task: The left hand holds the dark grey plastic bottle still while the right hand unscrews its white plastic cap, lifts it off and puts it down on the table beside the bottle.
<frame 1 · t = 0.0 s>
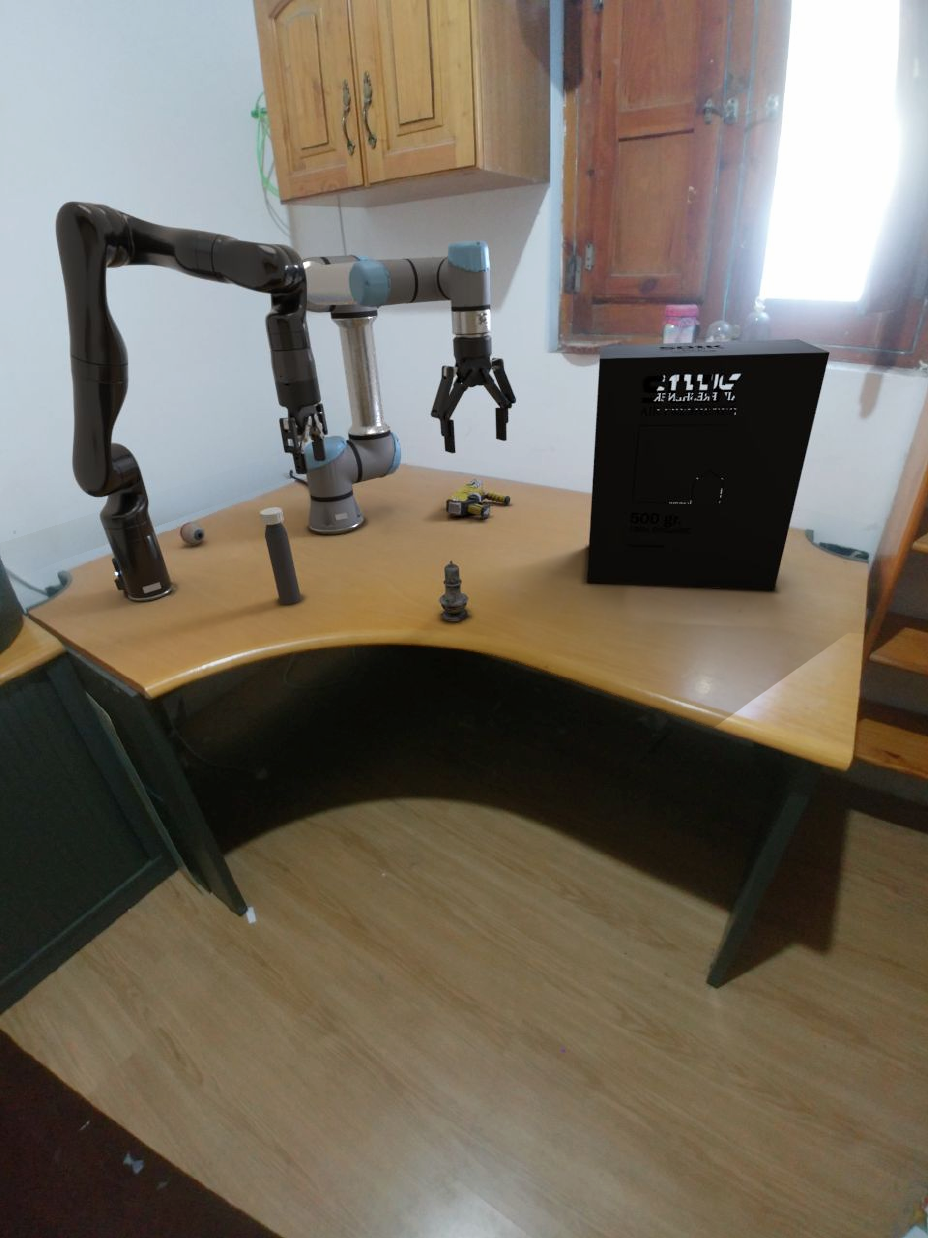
left hand: (311, 466, 115), 29 cm above the table, tool pointing down, fingers open, 8 cm apart
right hand: (476, 445, 127), 28 cm above the table, tool pointing down, fingers open, 13 cm apart
eyeball: (196, 544, 162), on the table
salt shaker: (454, 615, 122), on the table
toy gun: (483, 506, 177), on the table
cardboard box: (673, 566, 136), on the table
cap: (271, 512, 121), point 20 cm above the table, screwed on, not yet turned
bottle: (290, 599, 131), on the table
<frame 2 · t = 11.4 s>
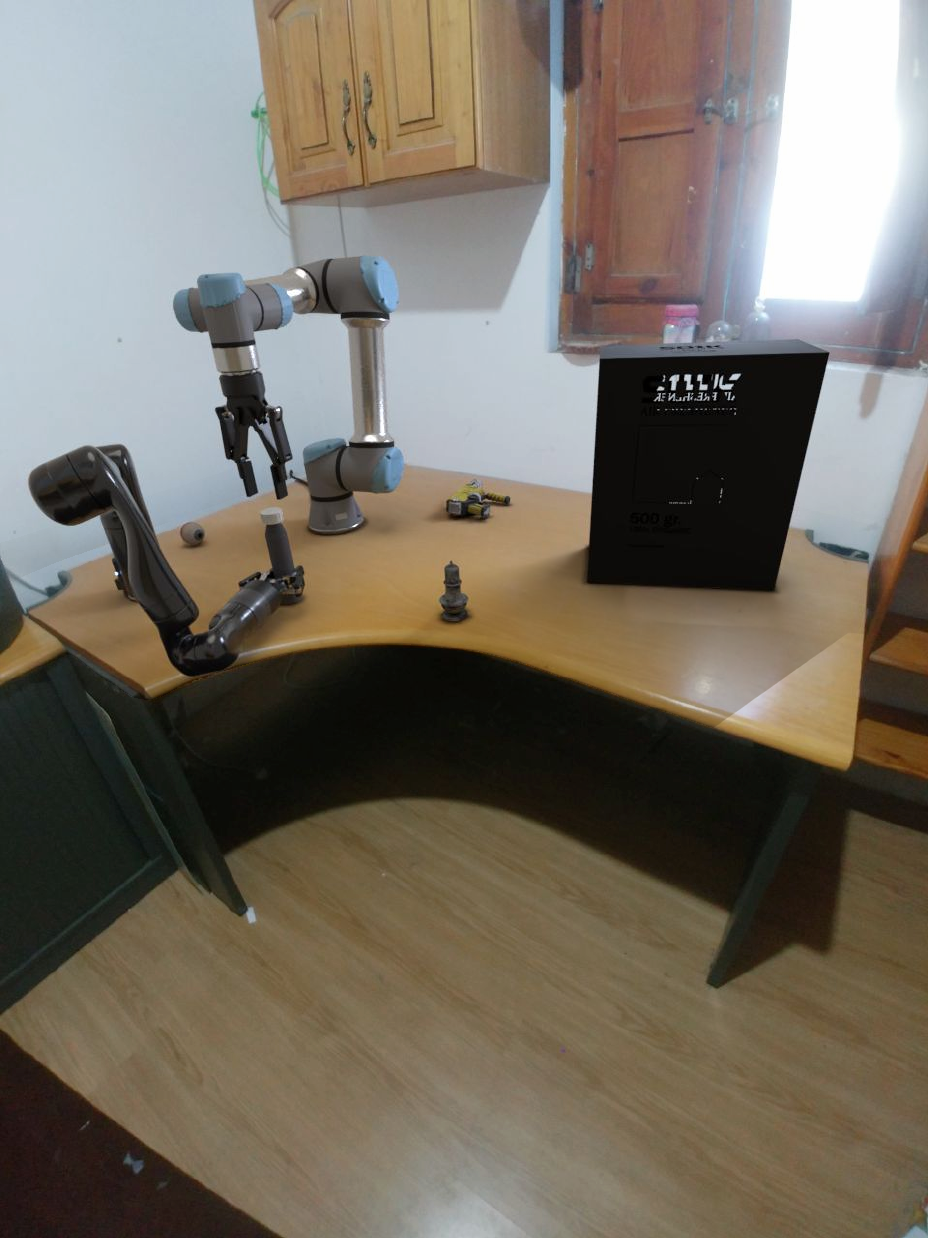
left hand: (290, 568, 130), 6 cm above the table, tool horizontal, fingers closed on bottle, 4 cm apart
right hand: (267, 495, 120), 23 cm above the table, tool pointing down, fingers open, 7 cm apart
bottle: (290, 599, 131), on the table, touching left hand
everything else where it was.
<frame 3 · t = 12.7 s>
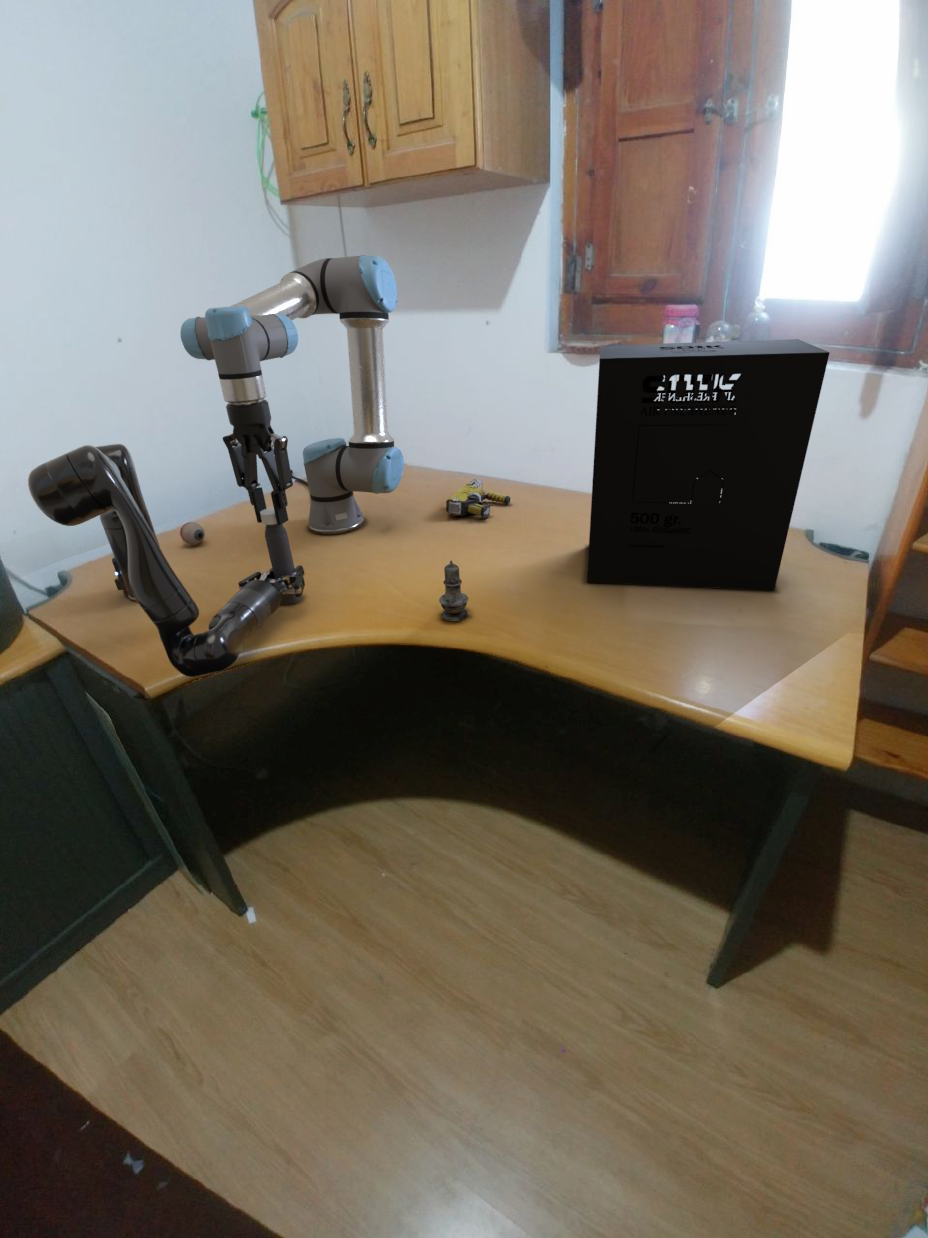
left hand: (290, 568, 130), 6 cm above the table, tool horizontal, fingers closed on bottle, 4 cm apart
right hand: (273, 521, 122), 18 cm above the table, tool pointing down, fingers closed on cap, 4 cm apart
cap: (271, 512, 121), point 20 cm above the table, screwed on, not yet turned, touching right hand
bottle: (290, 599, 131), on the table, touching left hand
everything else where it was.
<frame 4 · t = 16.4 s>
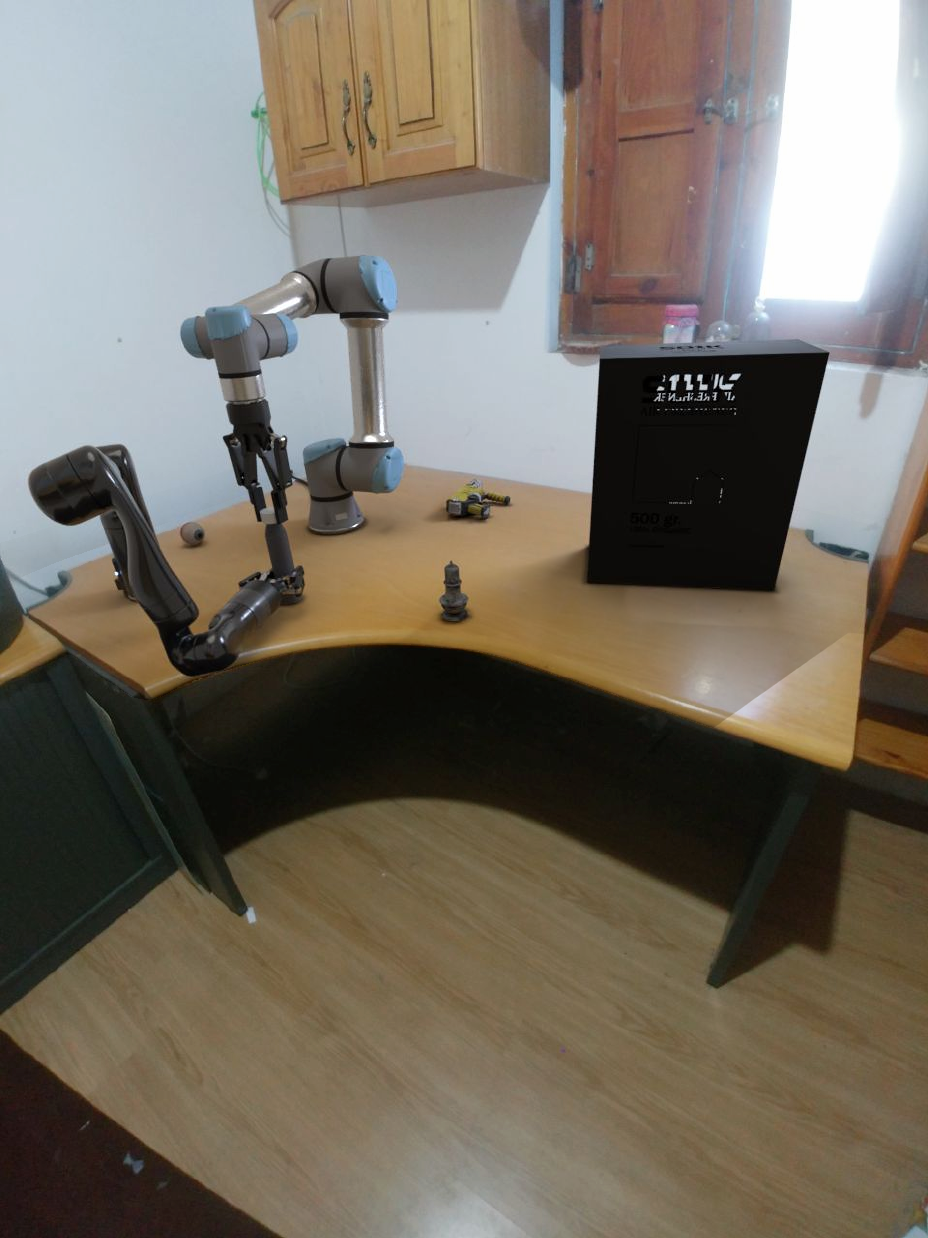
left hand: (290, 568, 130), 6 cm above the table, tool horizontal, fingers closed on bottle, 4 cm apart
right hand: (272, 520, 122), 18 cm above the table, tool pointing down, fingers closed on cap, 4 cm apart
cap: (270, 511, 121), point 20 cm above the table, turned 136° so far, risen 0.1 cm, still on its thread, touching right hand
bottle: (290, 599, 131), on the table, touching left hand
everything else where it was.
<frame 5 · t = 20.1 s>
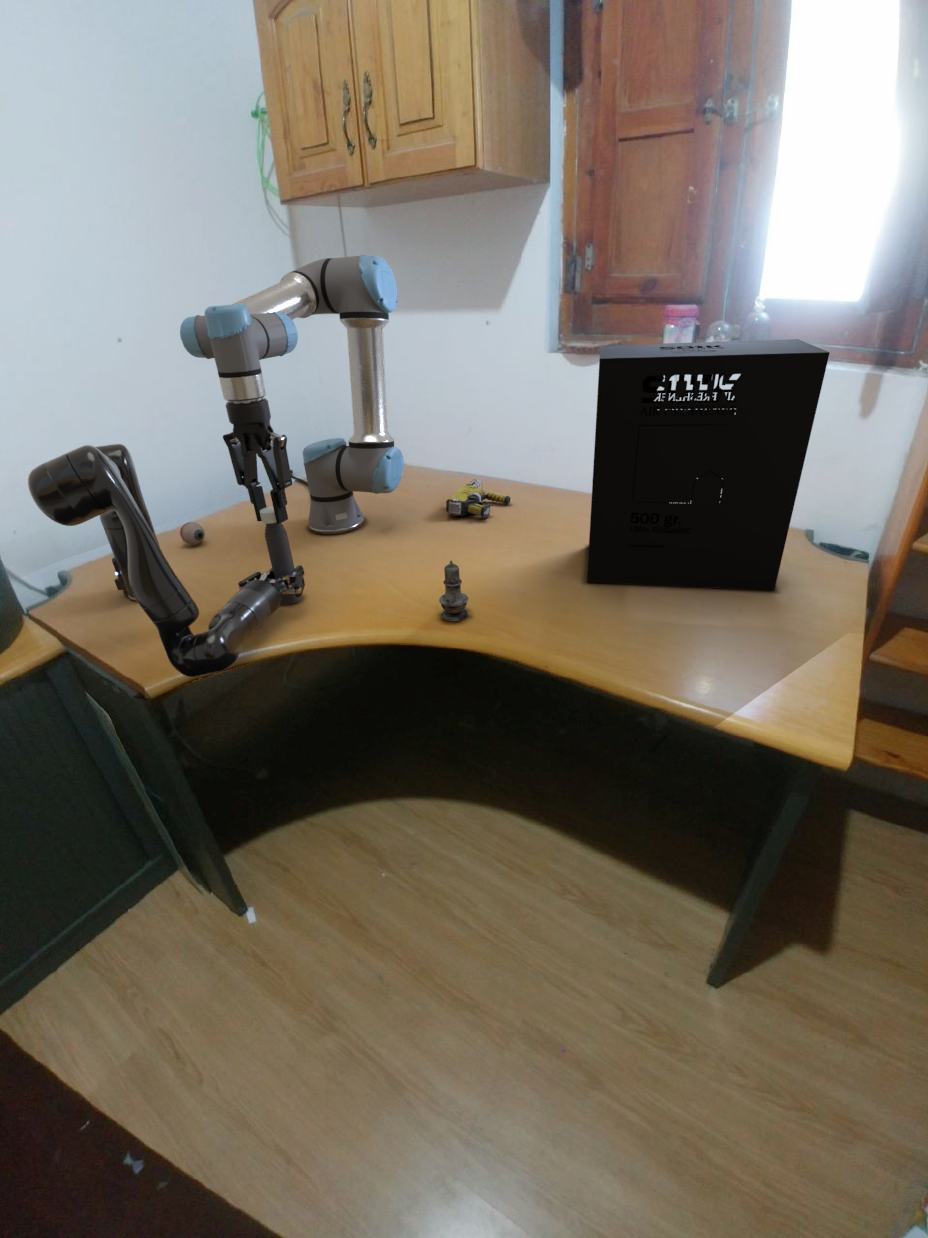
left hand: (290, 568, 130), 6 cm above the table, tool horizontal, fingers closed on bottle, 4 cm apart
right hand: (272, 519, 122), 18 cm above the table, tool pointing down, fingers closed on cap, 4 cm apart
cap: (270, 511, 121), point 20 cm above the table, turned 271° so far, risen 0.3 cm, still on its thread, touching right hand
bottle: (290, 599, 131), on the table, touching left hand
everything else where it was.
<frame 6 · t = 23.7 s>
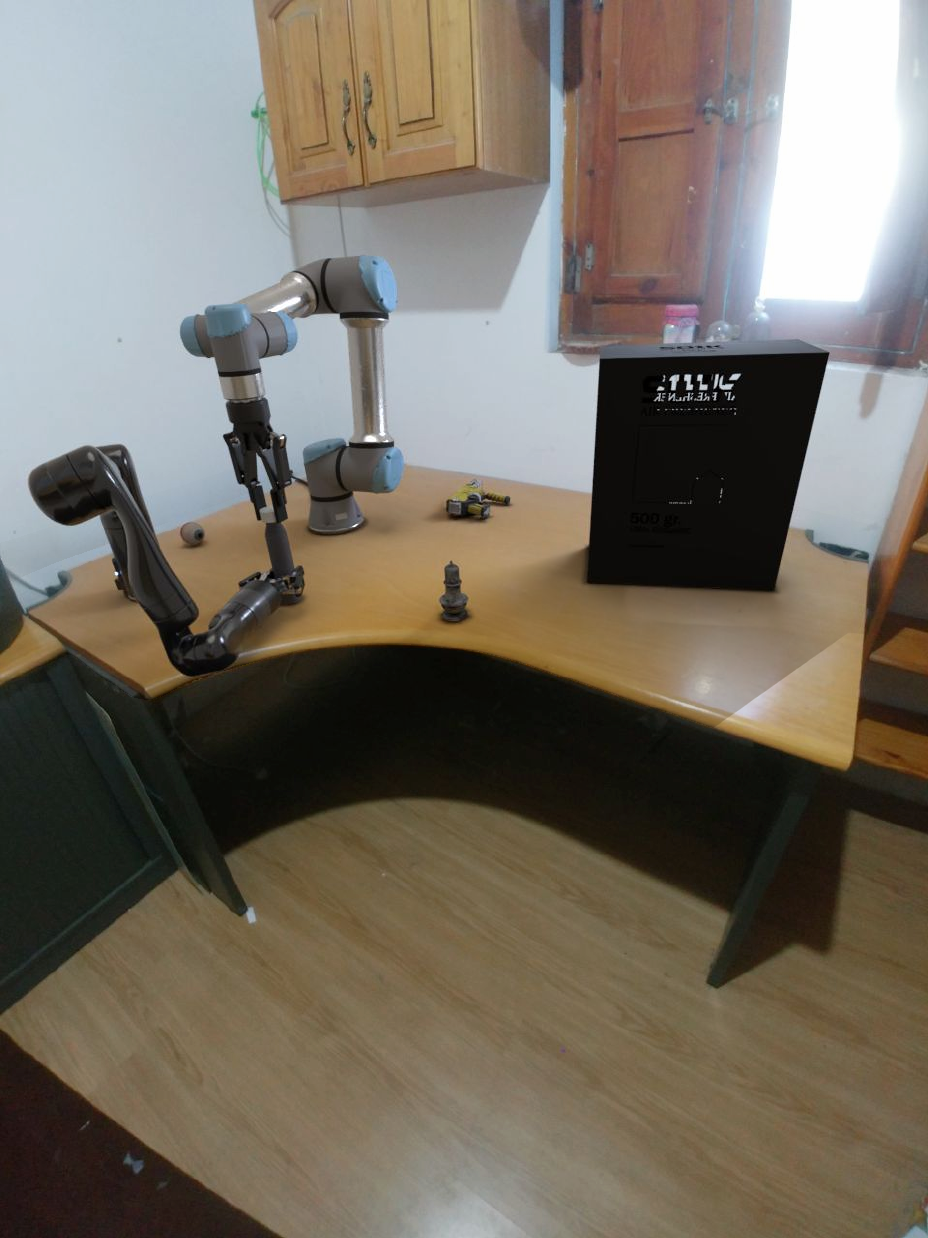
left hand: (290, 568, 130), 6 cm above the table, tool horizontal, fingers closed on bottle, 4 cm apart
right hand: (272, 519, 122), 19 cm above the table, tool pointing down, fingers closed on cap, 4 cm apart
cap: (270, 510, 121), point 20 cm above the table, turned 407° so far, risen 0.4 cm, still on its thread, touching right hand
bottle: (290, 599, 131), on the table, touching left hand
everything else where it was.
when the right hand's fingers open (2 cm above the table, at t = 30.5 s): cap drops 2 cm, point 2 cm above the table.
when the left hand's fingers open (6 cm above the table, at t = 31.7 s): bottle stays where it is, on the table.
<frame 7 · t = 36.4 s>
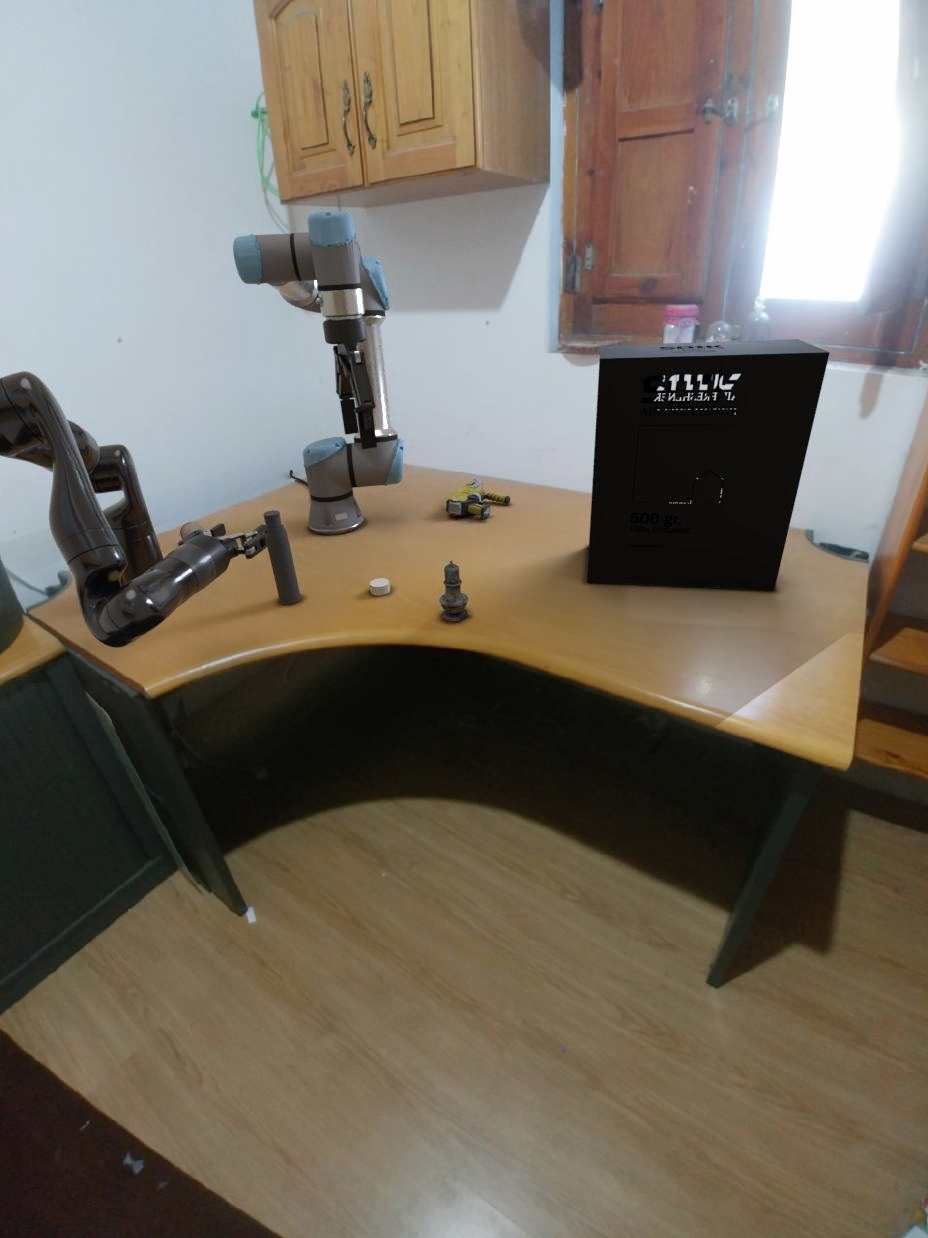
left hand: (243, 528, 112), 21 cm above the table, tool horizontal, fingers open, 8 cm apart
right hand: (360, 440, 116), 33 cm above the table, tool pointing down, fingers open, 13 cm apart
cap: (379, 583, 132), point 2 cm above the table, off its thread
bottle: (290, 599, 131), on the table
everything else where it was.
at the end: cap came off its thread; cap point 1.8 cm above the table; the left hand is holding nothing; the right hand is holding nothing; bottle tilted 0°; bottle moved 0.0 cm from its start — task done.
